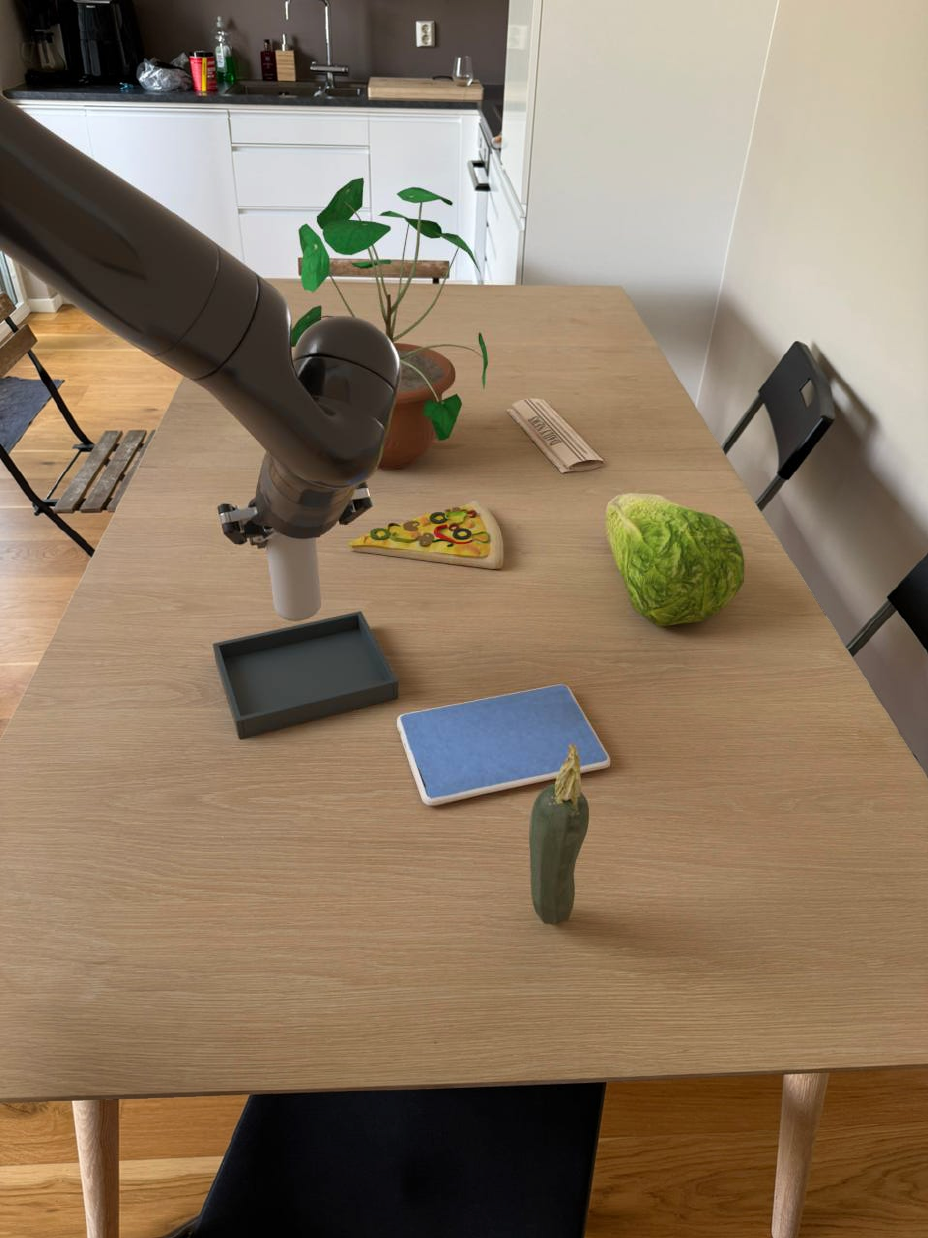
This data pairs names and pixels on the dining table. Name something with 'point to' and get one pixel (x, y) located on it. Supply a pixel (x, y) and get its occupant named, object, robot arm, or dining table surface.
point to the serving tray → (303, 673)
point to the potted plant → (421, 367)
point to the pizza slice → (441, 538)
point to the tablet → (497, 743)
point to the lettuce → (673, 558)
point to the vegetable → (557, 842)
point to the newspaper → (554, 436)
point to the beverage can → (294, 577)
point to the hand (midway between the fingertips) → (286, 533)
